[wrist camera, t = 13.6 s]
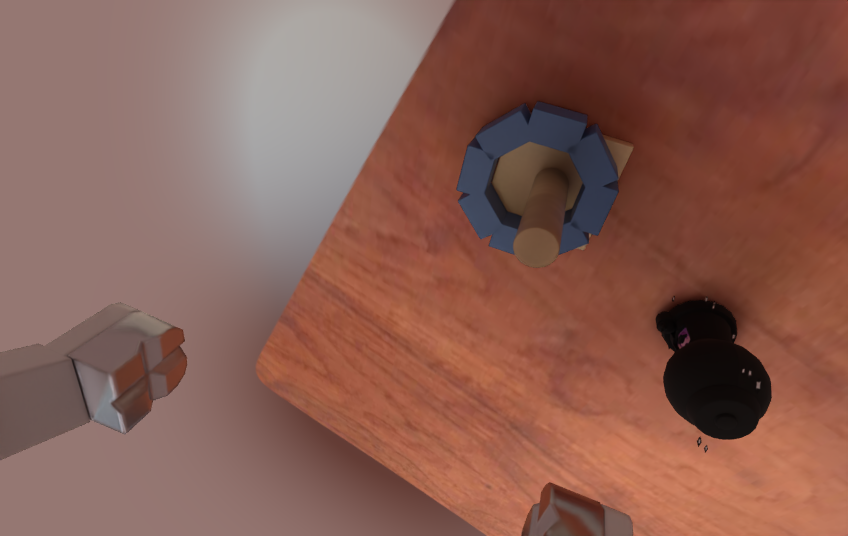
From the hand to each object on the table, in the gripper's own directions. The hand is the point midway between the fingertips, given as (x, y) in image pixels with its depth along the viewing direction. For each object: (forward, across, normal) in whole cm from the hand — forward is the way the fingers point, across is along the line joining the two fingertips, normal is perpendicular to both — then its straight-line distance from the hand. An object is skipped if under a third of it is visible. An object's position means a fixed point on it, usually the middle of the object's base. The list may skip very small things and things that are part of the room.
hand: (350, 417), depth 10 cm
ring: (+26, -2, +3) cm, 27 cm away
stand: (+28, -3, +3) cm, 28 cm away
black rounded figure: (+28, -17, +10) cm, 34 cm away
